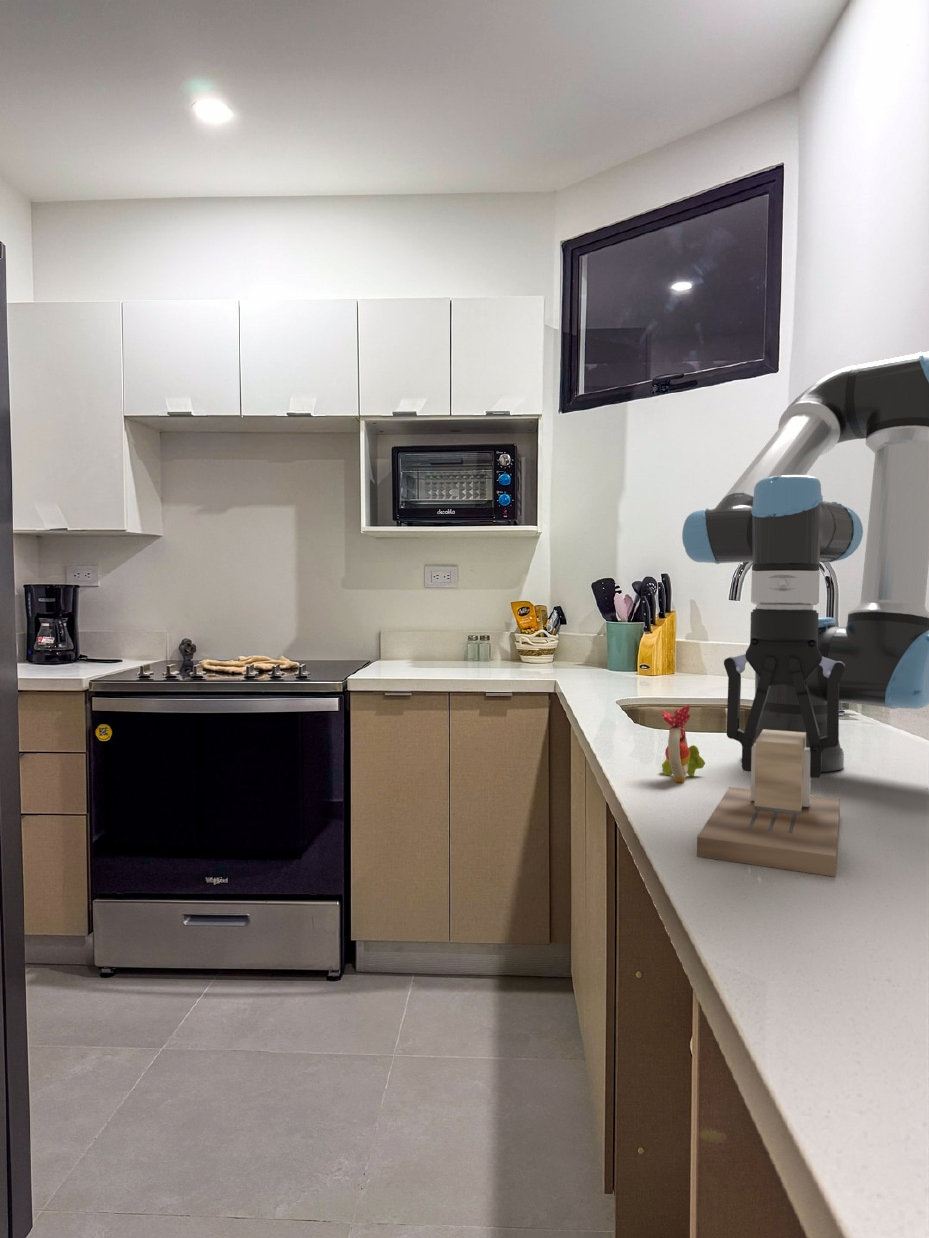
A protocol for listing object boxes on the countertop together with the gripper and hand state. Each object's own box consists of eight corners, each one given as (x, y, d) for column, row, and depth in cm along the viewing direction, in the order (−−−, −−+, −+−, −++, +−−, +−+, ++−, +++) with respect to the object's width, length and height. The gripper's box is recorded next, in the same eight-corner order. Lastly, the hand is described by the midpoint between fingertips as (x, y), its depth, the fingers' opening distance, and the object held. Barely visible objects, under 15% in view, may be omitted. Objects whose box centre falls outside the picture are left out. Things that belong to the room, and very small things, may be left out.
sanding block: (761, 791, 101) (763, 729, 101) (804, 796, 99) (806, 732, 99) (754, 809, 93) (755, 740, 93) (800, 814, 91) (802, 744, 91)
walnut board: (729, 802, 104) (729, 786, 104) (839, 815, 98) (839, 798, 98) (696, 856, 82) (697, 836, 82) (835, 876, 77) (836, 855, 77)
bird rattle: (702, 798, 114) (706, 761, 122) (700, 732, 110) (704, 698, 117) (657, 794, 116) (664, 758, 124) (654, 730, 112) (661, 697, 120)
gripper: (701, 606, 96) (697, 799, 97) (869, 609, 88) (864, 818, 89) (710, 606, 103) (707, 785, 103) (868, 608, 95) (863, 802, 96)
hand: (780, 800), depth 96 cm, fingers closed on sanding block, 5 cm apart
